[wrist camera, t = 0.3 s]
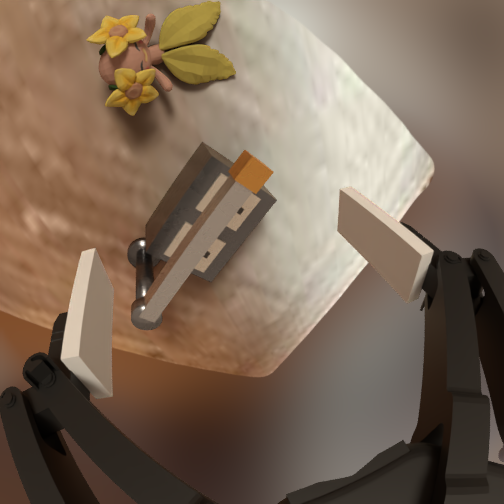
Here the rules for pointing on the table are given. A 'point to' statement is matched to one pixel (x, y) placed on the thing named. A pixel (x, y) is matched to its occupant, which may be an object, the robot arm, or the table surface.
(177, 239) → the block
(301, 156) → the table surface
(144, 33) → the figurine
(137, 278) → the post
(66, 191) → the table surface
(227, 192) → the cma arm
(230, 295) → the table surface
